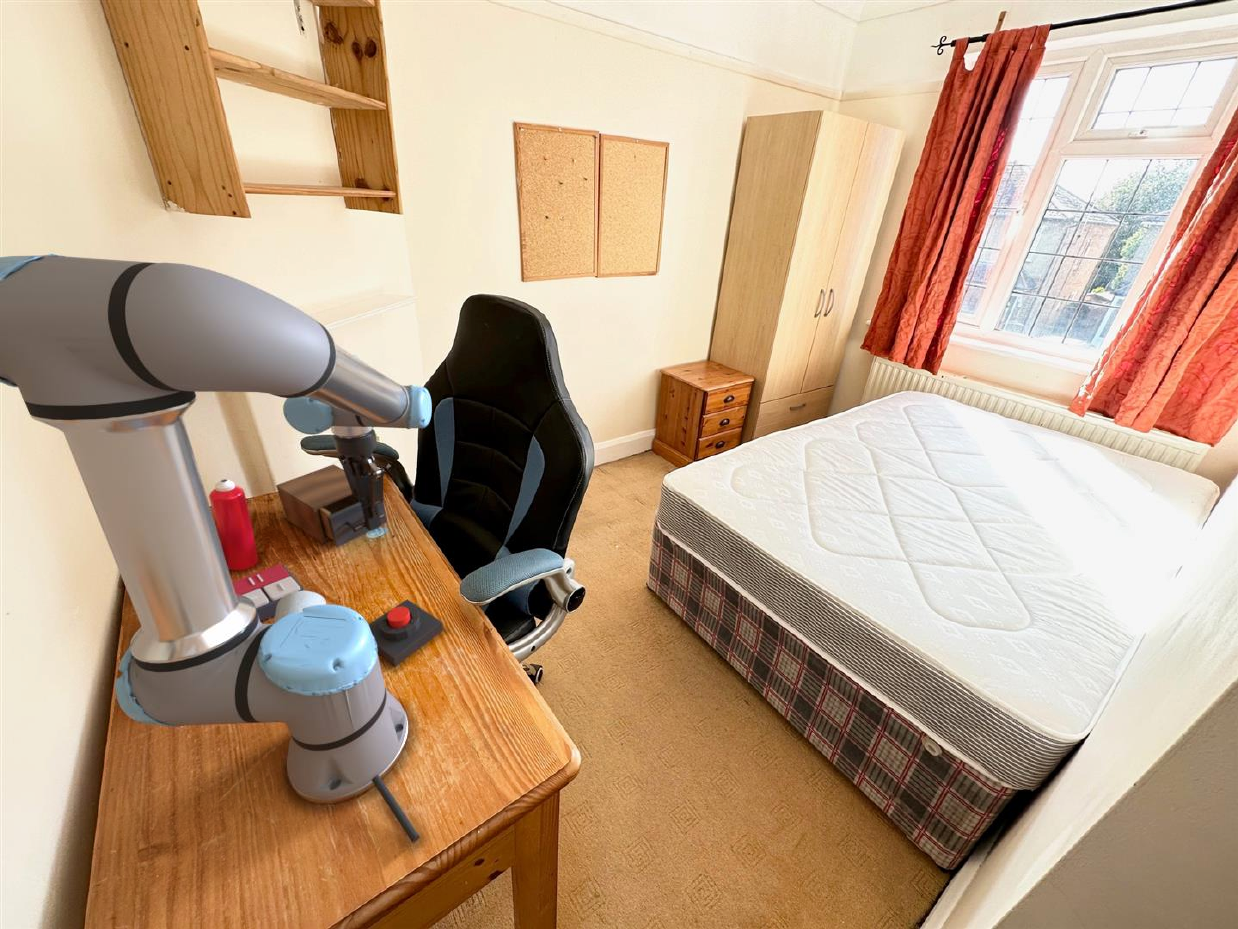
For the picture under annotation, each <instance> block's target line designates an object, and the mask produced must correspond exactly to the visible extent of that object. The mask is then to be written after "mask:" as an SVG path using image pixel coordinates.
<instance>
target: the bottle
mask: <svg viewBox="0 0 1238 929" xmlns="http://www.w3.org/2000/svg"><path fill="white" fill-rule="evenodd" d="M208 499H209V502H210V503H209V504H210V508H211V512H212V516H213V519H214V523H215V526H216V529H217V533H218V536H219V539H220V543H221V546H222V549H223V553H224V556H225V559H226V563H227V566H228V570H229V571H235V572H236V571H237V572H238V571H243V570H247V569H250V568H253V567H254V566H256V565H257V564H258V563H259V561H260V557H259V553H258V548H257V543H256V539H255V535H254V529H253V525H252V520H251V516H250V511H249V507H248V503H247V497H246V493H245V490H244V488H243V487H241V486H239V485H235V482H234V481H232V480H229V479H228V478H227V479H226V478H223V479H220V480H219V481H218V482H217V483H215V484H214V489H212V490H211V492H209V494H208Z"/></svg>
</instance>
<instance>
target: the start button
mask: <svg viewBox="0 0 1238 929" xmlns="http://www.w3.org/2000/svg"><path fill="white" fill-rule="evenodd" d="M395 607H396V606H395ZM395 607H393V608H394V609H393V608H391V609H392V610H391V609H390V610H391V611H390V610H389V611H390V612H389V613H388V615H387V618H388V623H389V626H390V627H392V628H401V627H404V626H406V625H407V624H408V623H409V622H410V613H409V610H408V608H406V607H396V608H395Z"/></svg>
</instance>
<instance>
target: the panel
mask: <svg viewBox="0 0 1238 929" xmlns="http://www.w3.org/2000/svg"><path fill="white" fill-rule="evenodd" d="M396 607H406V608H408V610H409V613H410V622H409V623H408V624H407V625H406V626H404V627H401V628H392V627H390V626H389V623H388V618H387V615H388V613H389V612H390V611H391V610H392V609H394V608H396ZM368 625H369V627H370V630H371V633H372V635H373V636H374V638H375V641H376V644H377V650H378V652H377V653H378V656H381V657H382V658H383V659H385V660H386V661H387V663H390V664H391V665H392V666H393V667H395V668H397V666H399V665H400V664H402V663H403V662H404V661H406V660H407V659H408V658H409V657H412V655H413V654H415V653H416V652H417V651H419V650H420V649H421V648H422V647H423V646H425V645H426V644H428V643H429V642H430V641H431V640H433V639H434V638H435V637H436V636H438V635H439V634H440V633H442V632H443V631H444V626H443V622H442V621H441V620H440V619H438V618H436V617H435V616H433V615H432V614H430V613H429V612H428V611H425V610H424V609H423V608H421V607H420V606H418V605H417V604H415V603H414V602H413V601H411V600H409V598H406V599H405V600H403V601H402V602H401V603H399V604H398V605H396V606H394V607H393V608H391V609H390V610H388V611H387V612H385V613H383V614H382V615H381V616H379V617H378V618H376V619H375V620H374V621H372V622H370V623H368Z"/></svg>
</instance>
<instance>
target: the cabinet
mask: <svg viewBox="0 0 1238 929" xmlns="http://www.w3.org/2000/svg"><path fill="white" fill-rule="evenodd" d="M275 486H276V489H277V492H278V496H279V499H280V500H279V501H280V503H281V506H282V509H283V513H284V515H285V519H286V520H287V521H288V522H290V523H291V524H293V525H295V526H296V527H298V528H299V529H300V530H302V531H304V532H305V533H306V534H308V535H310V536H311V537H313V538H314V539H315V540H317V541H319V542H320V543H321V544H324V543H326V542H328V541H330V540H332V539H331V538H329V537H328V536H326V535H325V534H324V533H323V529H322V525H321V522H320V518H319V514H318V511H317V509H319V508H322V507H324V506H326V505H329V504H331V503H333V502H336V501H338V500H340V499H343V498H345V497H347V496H350V495H352V492H351V489H350V486H349V483H348V480H347V478H346V475H345V472H344V469H343V468H341V467H340V466H337V465H336V464H334V463H333V464H331V465H328V466H325V467H322V468H320V469H317V470H314V471H311V472H308V473H305V474H303V475H301V476H298V477H295V478H292V479H289V480H287V481H284V482H280V483H279V484H276V485H275Z"/></svg>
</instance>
